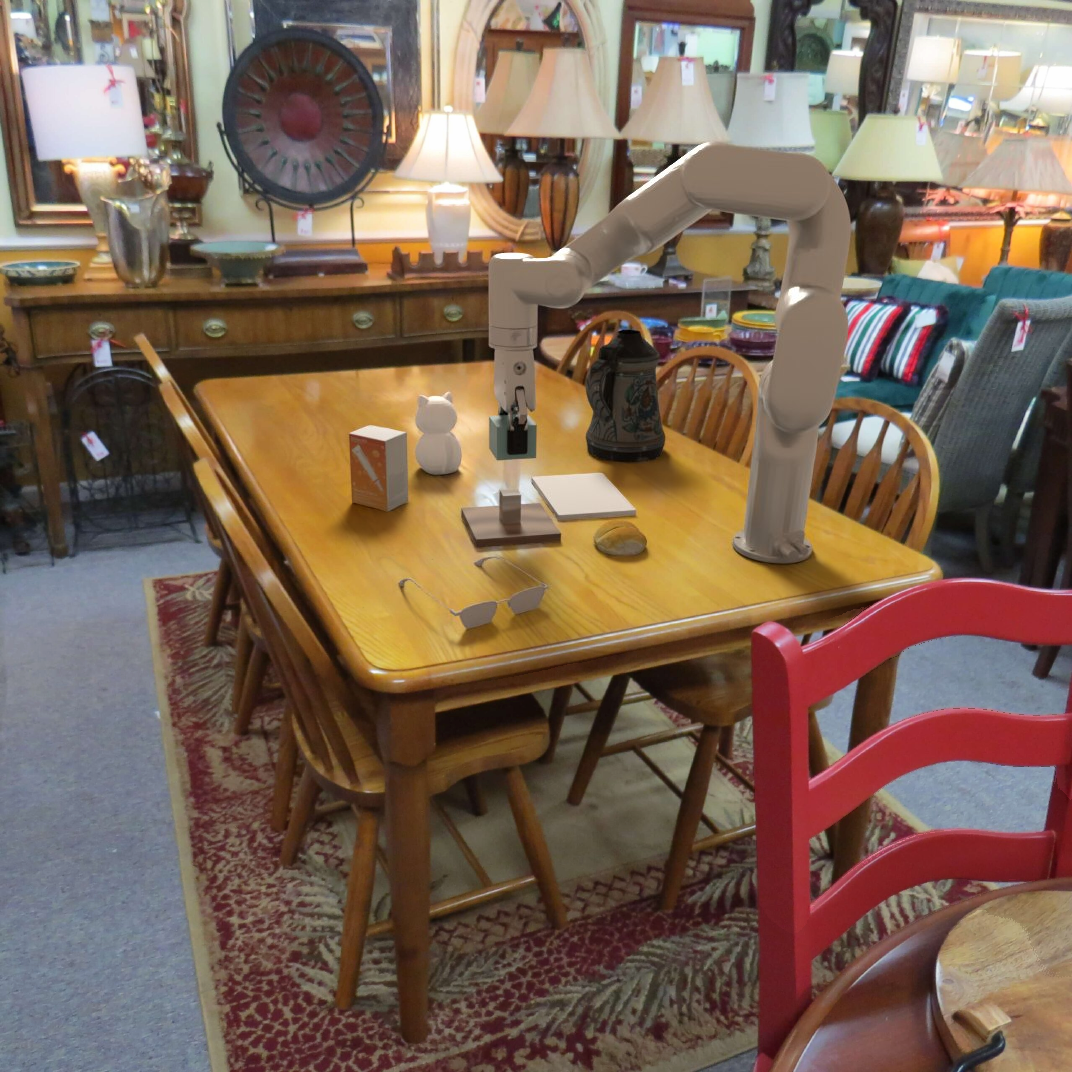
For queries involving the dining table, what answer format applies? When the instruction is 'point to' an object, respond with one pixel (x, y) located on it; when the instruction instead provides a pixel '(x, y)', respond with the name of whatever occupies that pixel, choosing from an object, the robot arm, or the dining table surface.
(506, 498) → the post stand
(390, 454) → the small box
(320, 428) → the dining table surface
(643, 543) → the bread roll
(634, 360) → the beer stein
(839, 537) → the dining table surface
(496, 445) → the cube
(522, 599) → the eyeglasses
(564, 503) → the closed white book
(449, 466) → the cat figurine
